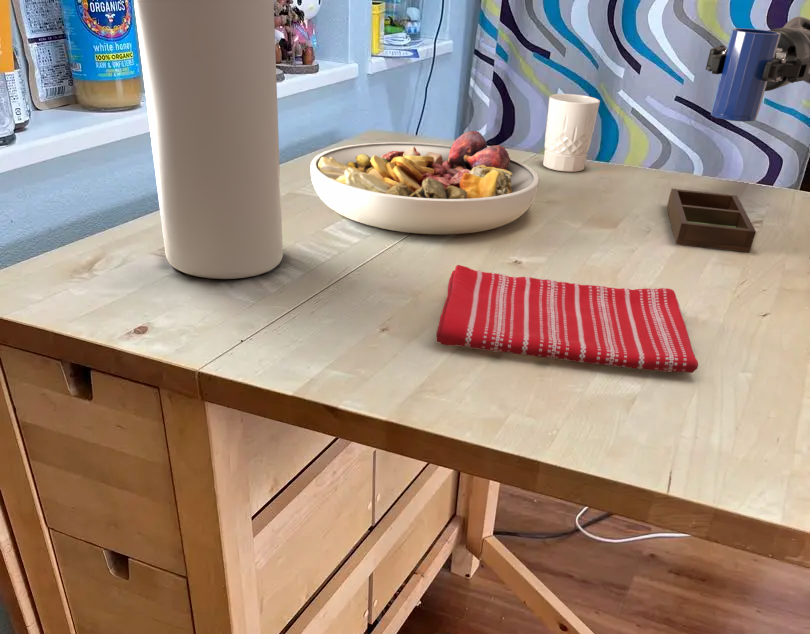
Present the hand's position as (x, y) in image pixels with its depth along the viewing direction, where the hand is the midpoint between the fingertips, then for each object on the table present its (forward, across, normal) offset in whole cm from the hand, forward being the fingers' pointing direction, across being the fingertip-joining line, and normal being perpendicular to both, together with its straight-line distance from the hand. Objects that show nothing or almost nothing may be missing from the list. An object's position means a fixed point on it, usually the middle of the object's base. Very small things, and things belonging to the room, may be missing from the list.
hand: (741, 68), depth 105 cm
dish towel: (+53, +4, +18) cm, 57 cm away
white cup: (-7, -26, +18) cm, 33 cm away
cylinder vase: (+63, -32, +18) cm, 73 cm away
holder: (+9, +3, +18) cm, 20 cm away
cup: (-2, 0, +6) cm, 6 cm away
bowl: (+29, -29, +18) cm, 45 cm away
